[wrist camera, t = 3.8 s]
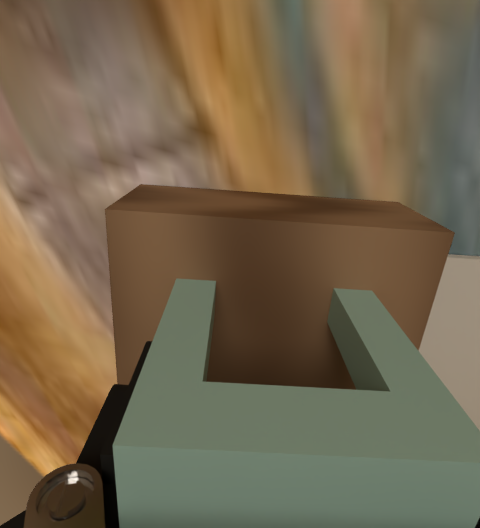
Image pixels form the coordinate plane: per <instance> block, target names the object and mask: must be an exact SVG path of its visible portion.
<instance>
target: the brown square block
mask: <svg viewBox="0 0 480 528" xmlns="http://www.w3.org/2000/svg"><path fill="white" fill-rule="evenodd" d="M105 215H106V229H107V243H108V257H109V271H110V285H111V299H112V312H113V326H114V340H115V354H116V368H117V382H118V384H122V385H129V383H130V380H131V378H132V375H133V373H134V370H135V368H136V366H137V363H138V361H139V358H140V356H141V353H142V351H143V348H144V346H145V344H146V342H147V341H153V339H154V336H155V333H156V331H157V328H158V325H159V323H160V320H161V318H162V315H163V312H164V310H165V307H166V305H167V302H168V299H169V297H170V294H171V291H172V289H173V286H174V284H175V281H176V279H193V280H209V281H216V293H215V313H214V323H213V331H212V339H211V348H210V356H209V364H208V372H207V381H206V382H221V383H240V384H259V385H277V386H296V387H315V388H333V389H352V390H356V388H355V385H354V383H353V381H352V378H351V376H350V374H349V371H348V369H347V367H346V364H345V362H344V360H343V357H342V355H341V353H340V351H339V348H338V346H337V344H336V341H335V339H334V337H333V334H332V332H331V330H330V327H329V325H328V323H327V320H328V315H329V310H330V304H331V299H332V294H333V288H338V289H354V290H370V291H373V292H374V294H375V295H376V296H377V298H378V299H379V300H380V302H381V303H382V304H383V305H384V307H385V308H386V309H387V311H388V312H389V313H390V315H391V316H392V317H393V318H394V320H395V321H396V322H397V324H398V325H399V326H400V328H401V329H402V330H403V332H404V333H405V334H406V335H407V337H408V338H409V339H410V341H411V342H412V343H413V345H414V346H415V347H416V348H417V350H418V351H419V348H420V344H421V341H422V338H423V335H424V331H425V328H426V325H427V322H428V318H429V315H430V312H431V309H432V305H433V302H434V299H435V296H436V292H437V289H438V286H439V282H440V279H441V276H442V273H443V269H444V266H445V263H446V260H447V256H448V253H449V250H450V247H451V243H452V240H453V237H454V234H455V233H454V232H452V231H451V230H449V229H447V228H445V227H443V226H441V225H439V224H438V223H436V222H434V221H432V220H430V219H428V218H426V217H425V216H423V215H421V214H419V213H417V212H415V211H413V210H412V209H410V208H408V207H406V206H404V205H402V204H400V203H398V202H387V201H372V200H358V199H344V198H329V197H315V196H300V195H286V194H272V193H257V192H243V191H228V190H214V189H200V188H185V187H171V186H156V185H142V184H141V185H139V186H138V187H136V188H135V189H133V190H132V191H131V192H129V193H128V194H126V195H125V196H123V197H122V198H121V199H119V200H118V201H116V202H115V203H113V204H112V205H110V206H109V207H108V208H106V209H105Z"/></svg>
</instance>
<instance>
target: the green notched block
mask: <svg viewBox="0 0 480 528" xmlns="http://www.w3.org/2000/svg"><path fill="white" fill-rule="evenodd" d="M215 293H216V281H209V280H193V279H176V281H175V284H174V286H173V289H172V291H171V294H170V297H169V299H168V302H167V305H166V307H165V310H164V312H163V315H162V318H161V320H160V323H159V325H158V328H157V331H156V333H155V336H154V339H153V341H152V344H151V346H150V349H149V352H148V354H147V357H146V359H145V362H144V365H143V367H142V370H141V372H140V375H139V378H138V380H137V383H136V386H135V388H134V391H133V393H132V396H131V399H130V401H129V404H128V406H127V409H126V412H125V414H124V417H123V419H122V422H121V425H120V427H119V430H118V433H117V435H116V438H115V440H114V443H113V456H114V468H115V480H116V492H117V503H118V515H119V527H120V528H475V526H476V524H477V522H478V520H479V518H480V431H479V429H478V428H477V427H476V425H475V424H474V423H473V421H472V420H471V419H470V418H469V416H468V415H467V414H466V412H465V411H464V410H463V408H462V407H461V406H460V404H459V403H458V402H457V401H456V399H455V398H454V397H453V395H452V394H451V393H450V391H449V390H448V389H447V388H446V386H445V385H444V384H443V382H442V381H441V380H440V378H439V377H438V376H437V375H436V373H435V372H434V371H433V369H432V368H431V367H430V365H429V364H428V363H427V361H426V360H425V359H424V358H423V356H422V355H421V354H420V352H419V351H418V350H417V348H416V347H415V346H414V345H413V343H412V342H411V341H410V339H409V338H408V337H407V335H406V334H405V333H404V332H403V330H402V329H401V328H400V326H399V325H398V324H397V322H396V321H395V320H394V318H393V317H392V316H391V315H390V313H389V312H388V311H387V309H386V308H385V307H384V305H383V304H382V303H381V302H380V300H379V299H378V298H377V296H376V295H375V294H374V292H373V291H370V290H354V289H338V288H333V294H332V299H331V304H330V310H329V315H328V320H327V323H328V325H329V327H330V330H331V332H332V334H333V337H334V339H335V341H336V344H337V346H338V348H339V351H340V353H341V355H342V357H343V360H344V362H345V364H346V367H347V369H348V371H349V374H350V376H351V378H352V381H353V383H354V385H355V388H356V390H352V389H333V388H315V387H296V386H277V385H259V384H240V383H221V382H206V381H207V372H208V364H209V356H210V348H211V339H212V331H213V323H214V313H215Z"/></svg>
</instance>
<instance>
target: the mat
mask: <svg viewBox="0 0 480 528" xmlns="http://www.w3.org/2000/svg"><path fill="white" fill-rule="evenodd" d="M419 352H420V354H421V355H422V356H423V358H424V359H425V360H426V361H427V363H428V364H429V365H430V367H431V368H432V369H433V371H434V372H435V373H436V375H437V376H438V377H439V378H440V380H441V381H442V382H443V384H444V385H445V386H446V388H447V389H448V390H449V391H450V393H451V394H452V395H453V397H454V398H455V399H456V401H457V402H458V403H459V404H460V406H461V407H462V408H463V410H464V411H465V412H466V414H467V415H468V416H469V418H470V419H471V420H472V421H473V423H474V424H475V425H476V427H477V428H478V429H479V431H480V256H466V255H451V254H448V256H447V260H446V263H445V266H444V269H443V273H442V276H441V279H440V282H439V286H438V289H437V292H436V296H435V299H434V302H433V305H432V309H431V312H430V315H429V318H428V322H427V325H426V328H425V331H424V335H423V338H422V341H421V344H420V348H419Z"/></svg>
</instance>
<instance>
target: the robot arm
mask: <svg viewBox="0 0 480 528" xmlns="http://www.w3.org/2000/svg"><path fill="white" fill-rule="evenodd" d="M151 344H152V341H147V342H146V344H145V346H144V348H143V351H142V353H141V356H140V358H139V361H138V363H137V366H136V368H135V370H134V373H133V375H132V378H131V380H130V383H129V385H122V384H115V385H113V386H112V388H111V390H110V392H109V394H108V396H107V398H106V400H105V403H104V405H103V407H102V409H101V411H100V413H99V415H98V418H97V420H96V422H95V424H94V426H93V428H92V430H91V433H90V435H89V437H88V439H87V441H86V443H85V445H84V448H83V450H82V452H81V454H80V456H79V458H78V460H77V463H76V464H69V465H65V466H63V467H60V468H57V469H55V470H54V471H52V472H50V473H49V474H47V475H46V476H45V477H44V478H43V479H42V480H41V481H40V482H38V483H37V484H36V486H35V488H34V489H33V491H32V492H31V494H30V496H29V500H28V502H27V507H26V510H25V511H23V512H22V513H20V514H19V515H17V516H15V517H14V518H12V519H10V520H9V521H7V522H6V523H4V524H2V525H1V526H0V528H120V527H119V515H118V503H117V492H116V480H115V468H114V456H113V443H114V440H115V438H116V435H117V433H118V430H119V427H120V425H121V422H122V419H123V417H124V414H125V412H126V409H127V406H128V404H129V401H130V399H131V396H132V393H133V391H134V388H135V386H136V383H137V380H138V378H139V375H140V372H141V370H142V367H143V365H144V362H145V359H146V357H147V354H148V352H149V349H150V346H151ZM475 528H480V518H479V520H478V522H477V524H476V526H475Z"/></svg>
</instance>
